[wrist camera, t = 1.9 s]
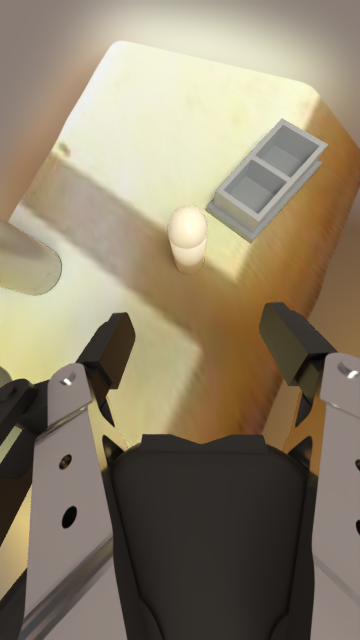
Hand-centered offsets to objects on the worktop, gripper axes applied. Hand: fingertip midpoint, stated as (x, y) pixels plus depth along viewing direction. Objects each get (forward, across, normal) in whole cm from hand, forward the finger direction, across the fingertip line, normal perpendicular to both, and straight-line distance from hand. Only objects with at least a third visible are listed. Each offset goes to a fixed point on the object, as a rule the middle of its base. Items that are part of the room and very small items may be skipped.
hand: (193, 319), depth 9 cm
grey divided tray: (+27, -13, -5) cm, 31 cm away
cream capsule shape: (+19, 0, +3) cm, 20 cm away
